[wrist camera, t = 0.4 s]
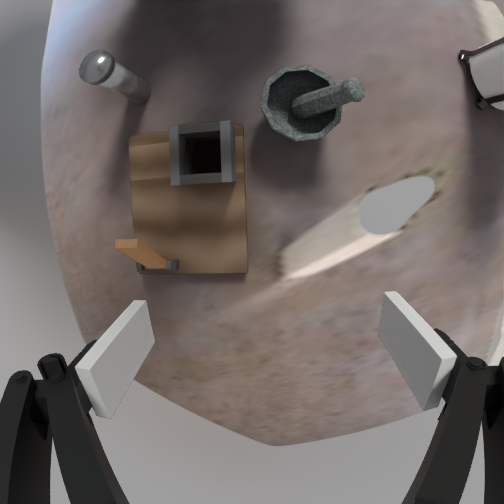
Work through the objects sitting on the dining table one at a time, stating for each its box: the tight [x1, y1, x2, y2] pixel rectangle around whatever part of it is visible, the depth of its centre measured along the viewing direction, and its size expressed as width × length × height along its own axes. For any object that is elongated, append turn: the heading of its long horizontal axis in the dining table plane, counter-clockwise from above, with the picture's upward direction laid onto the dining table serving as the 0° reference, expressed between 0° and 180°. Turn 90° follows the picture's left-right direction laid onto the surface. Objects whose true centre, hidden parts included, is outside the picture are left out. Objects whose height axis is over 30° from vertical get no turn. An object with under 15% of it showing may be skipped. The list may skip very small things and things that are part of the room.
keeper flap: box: [115, 239, 172, 269], centre depth 36 cm, size 11×4×1 cm
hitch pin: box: [79, 49, 151, 103], centre depth 30 cm, size 4×4×14 cm
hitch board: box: [129, 120, 248, 274], centre depth 37 cm, size 20×16×8 cm
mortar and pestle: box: [260, 65, 364, 142], centre depth 31 cm, size 11×9×12 cm
